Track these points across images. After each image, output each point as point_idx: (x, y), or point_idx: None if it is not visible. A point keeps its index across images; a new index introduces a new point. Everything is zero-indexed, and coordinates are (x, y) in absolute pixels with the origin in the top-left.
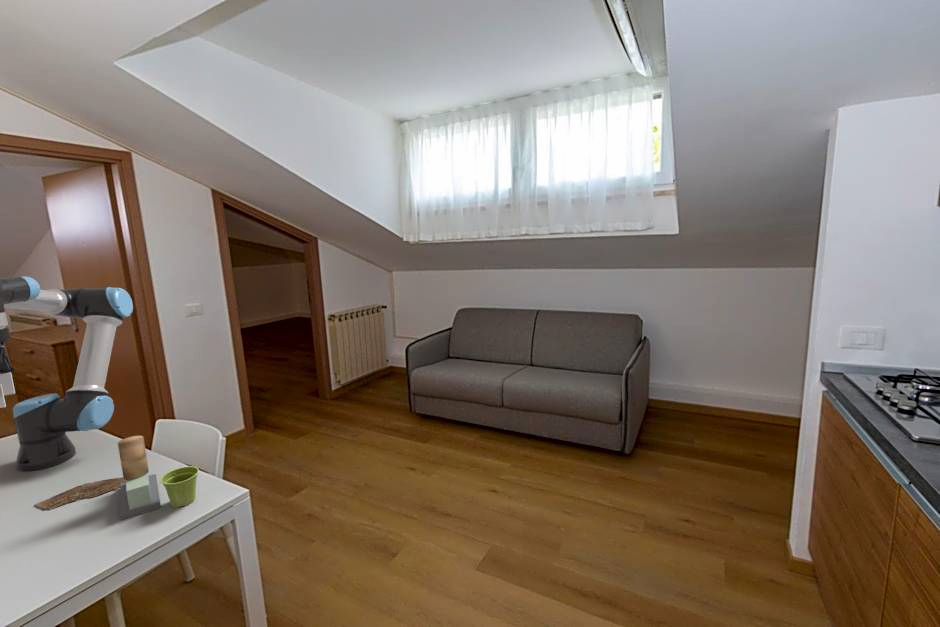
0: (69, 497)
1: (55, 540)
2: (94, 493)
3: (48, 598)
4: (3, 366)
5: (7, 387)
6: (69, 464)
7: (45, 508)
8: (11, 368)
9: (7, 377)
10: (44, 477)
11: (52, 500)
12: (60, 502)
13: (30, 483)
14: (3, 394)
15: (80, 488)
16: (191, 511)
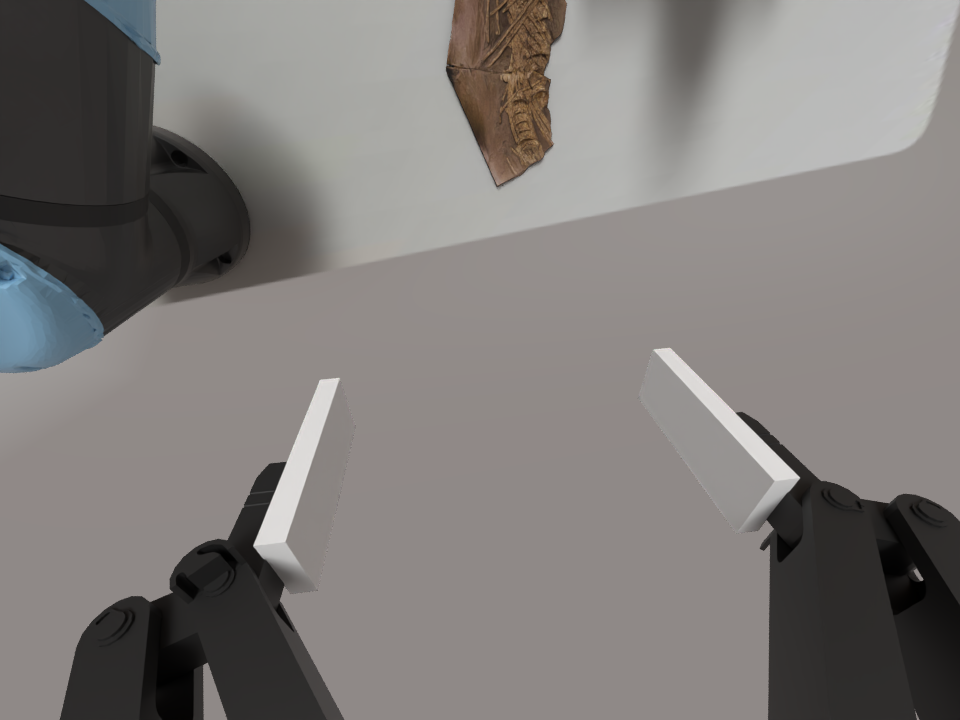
0: (523, 98)
1: (726, 105)
2: (546, 17)
3: (937, 87)
4: (309, 677)
5: (335, 443)
6: (236, 133)
7: (542, 154)
8: (188, 595)
9: (311, 514)
10: (317, 193)
11: (501, 145)
12: (532, 121)
13: (343, 221)
14: (708, 405)
15: (473, 71)
16: None
